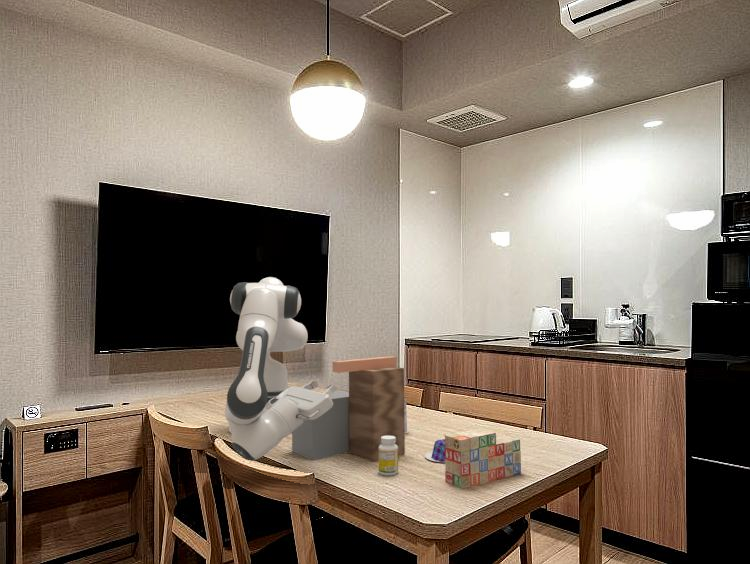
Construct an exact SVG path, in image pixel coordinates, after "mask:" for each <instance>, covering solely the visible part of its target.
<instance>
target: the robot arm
mask: <svg viewBox="0 0 750 564" xmlns="http://www.w3.org/2000/svg"><path fill="white" fill-rule="evenodd" d="M229 302H230V308H231V310H232V311H233V313H235V314H237V315H239V320H238V325H237V331H236V335H235V341H236V344H237V346H238V347H239V349H240V350H241V351H242V355H241V360H240V367H239V370H238V373H237V374H238V375H237V376H236V378H235V379H234V380H233V381H232V383H231V385H230V386H229V387H228V391H227V394H226V403H225V407H224V416H225V418H226V420H227V424H228V426H229V428H228V432H229V433H230V434H231V445H232V448H233V449H234V451H235V452H236V453H237V455H239V456H240V457H241V458H243V459H244V460H246V461H249V460H250V462H252V461H253V462H255V461H257V460H259V459H261V458H263V457H264V456H265V455H267V454H268V453H269V452H271V451H272V450H273V449H275V448H276V447H277V446H278V445H279V443H281V441H282V440H283V439H284V438H286V437H288V436H290V435H292V432H293V431H295V430H296V429H297V428H298V427H299V426H301V425H302V424H303V420H304V421H307V420H314V419H317V418H318V417H320V416H321V415H323V414H324V413H325V412H327V411H328V410H329V409H331V408H332V406H333V401H332V399H331V396H332V394H333V393H334V392H335V391H338V390H337V387H336V385H335V384H330V385H328V386H327V388H326V391H325V390H324V391H323V393H322V392H320V391H315V389H316V388H317V387H319V384H318V382H317V380H312V381H310V382H309V383H307V384H304V385H302V386H296V385H292V386H290V387H288V382H289V381H288V375H289V374H288V368H287V367H286V365H285V364H284V363H282V362H280V361H278V360H276V359H274V358H272V356H271V353H273V352H274V353H276V352H277V353H278V352H284V353H285V352H294V351H298V350H302V349H303V348H304V347H305V346H306V344H307V342H308V338H309V337H308V335H309V334H308V330H307V328H306V326H305V325H304V324H303V323H302V322H298V321H296V320H295V319H294V318H295V317H296V316H298V313H299V311H300V310H301V306H302V297H301V294H300V291H299V290H298V288H297V287H295V286H292V285H284V283H283V282H282V281H281V280H280V279H278V278H277V277H273V276H268V277H265V278H262V279H261V280H260V281H259V282H247V281H246V282H245V281H244V282H238V283H236V284H235V285H234V286H233V289H232V290H231V293H230V297H229Z"/></svg>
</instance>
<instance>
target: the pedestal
mask: <svg viewBox="0 0 750 564" xmlns="http://www.w3.org/2000/svg"><path fill="white" fill-rule="evenodd" d="M323 392H324V391H323ZM323 392H321V393H323ZM331 399H332V401H333V406H332V408H331V409H329V410H328V411H327V412H325V413H324V414H323V415H321V416H320V417H318V418H317V419H314V420H307V421H304V420H303V424H302V425H301V426H299V427H298V428H297V429H296V430H295V431H293V432H292V433H291V451H292V453H295V454H297V455H299V456H302V457H305V458H307V459H310V460H312V461H314V460H319V458H320V459H323V458H324V459H325V458H328V457H334V456H337V454H338V455H342V453H343V454H347V452H348V453H349V391H345V390H336V391H335V392H334V393H333V394H332V396H331ZM333 455H334V456H333Z"/></svg>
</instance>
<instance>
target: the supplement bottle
mask: <svg viewBox="0 0 750 564" xmlns="http://www.w3.org/2000/svg"><path fill="white" fill-rule="evenodd" d="M395 442H396V437H394V436H382V437H381V443H382V444H381V445H380V446H379V461H378V473H379V474H380V475H382V476H391V477H392V476H396V475H397V474H398V473H399V456H398V446H397V445H396V444H395Z"/></svg>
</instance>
